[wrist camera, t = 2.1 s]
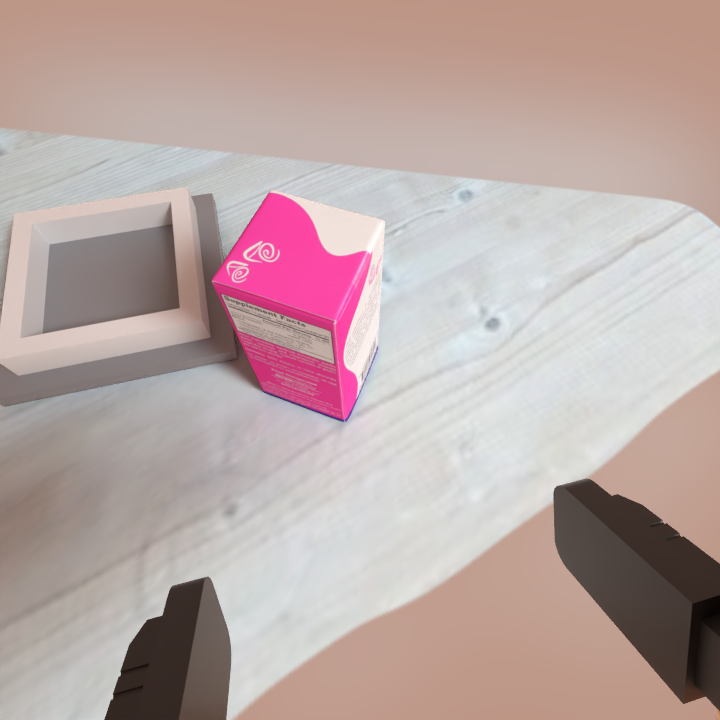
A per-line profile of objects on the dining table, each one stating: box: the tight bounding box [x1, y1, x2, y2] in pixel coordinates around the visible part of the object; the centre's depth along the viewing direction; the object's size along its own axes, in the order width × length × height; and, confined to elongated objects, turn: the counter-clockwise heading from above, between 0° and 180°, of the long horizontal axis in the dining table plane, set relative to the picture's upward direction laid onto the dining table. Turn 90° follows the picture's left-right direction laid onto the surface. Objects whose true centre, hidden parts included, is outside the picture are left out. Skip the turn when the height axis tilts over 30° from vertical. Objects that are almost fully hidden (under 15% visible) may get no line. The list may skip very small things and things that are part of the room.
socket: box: [0, 187, 238, 406], centre depth 30 cm, size 14×14×3 cm
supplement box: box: [211, 190, 385, 422], centre depth 24 cm, size 6×6×12 cm
